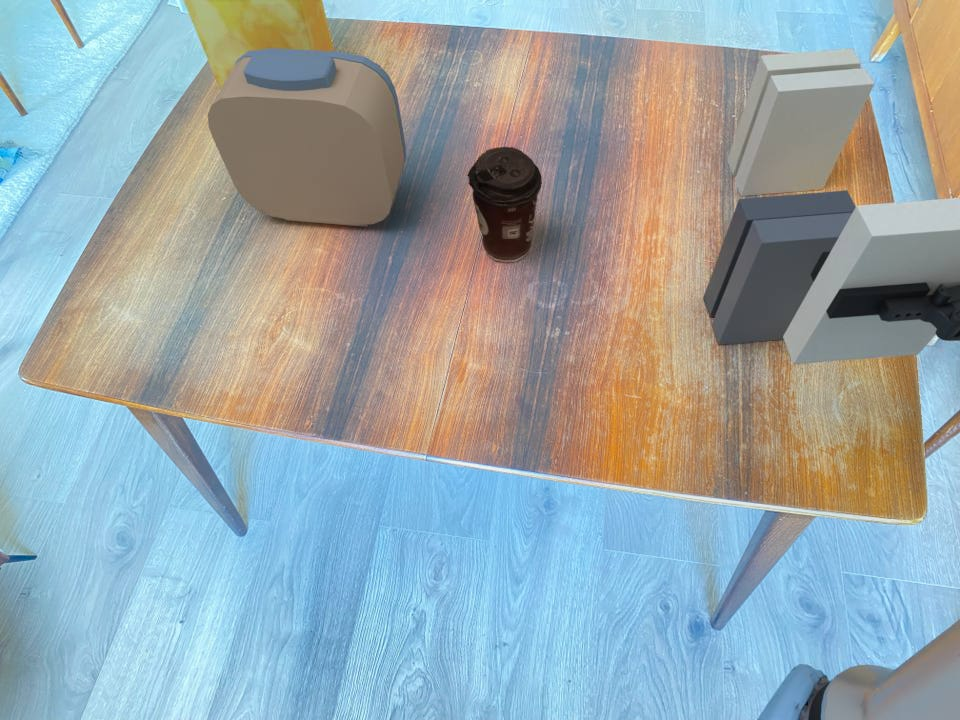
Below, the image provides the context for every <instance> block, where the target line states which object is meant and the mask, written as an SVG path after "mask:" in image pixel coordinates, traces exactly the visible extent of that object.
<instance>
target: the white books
mask: <svg viewBox="0 0 960 720" xmlns="http://www.w3.org/2000/svg"><path fill="white" fill-rule="evenodd" d="M861 65H862V61H861V59H860V58H859V56H858V55H857V53H856V52H855V50H854V48H853V47H852V48H851V47H849V48H838V49H827V50H826V49H825V50H813V51H802V52H790V53H789V52H788V53H777V54H776V53H775V54H765V55H760V58H759V61H758V64H757V67H756V69H755V73H754V76H753V79H752V81H751V85H750V89H749V91H748V95H747V97H746V101H745V104H744V107H743V109H742V113H741V117H740V120H739V123H738V126H737V129H736V132H735V136H734V138H733V141H732V144H731V147H730V151H729V154H728V157H727V160H726V162H727V165H728V167H729V170H730V173H731V175H732V176H735V179H734V182H735V186H736V189H737V190H738V193H739V195H740V197H747V196H760V195H772V194H773V195H774V194H786V193H798V192H808V191H809V192H810V191H823V189H824V188H825V186H826V184H827V182H828V180H829V178H830V175H831V174H832V171H833V170H834V167H835V165H836V163H837V161H838V159H839V158H840V156H841V153H842V151H843V149H844V147H845V145H846V143H847V141H848V139H849V137H850V136H851V133H852V132H853V128H854V127H855V124H856V122H857V121H858V118H859V117H860V114H861V113H862V111H863V109H864V106H865V104H866V102H867V100H868V99H869V97H870V94H871V92H872V91H873V88H874V86H875V82H874V81H873V79H872V76H871V75H870V74H869V72H868V70H867V69H866V67H862V68H861Z"/></svg>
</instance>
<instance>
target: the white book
mask: <svg viewBox="0 0 960 720" xmlns="http://www.w3.org/2000/svg"><path fill="white" fill-rule="evenodd" d="M855 206H856V208H855V209H854V211H853V213H852V215H851V216H850V218H849V220H848V222H847V224H846V225H845V227H844V229H843V231H842V232H841V234H840V236H839V238H838V240H837V241H836V243H835V245H834V247H833V249H832V250H831V252H830V254H829V256H828V257H827V259H826V261H825V263H824V265H823V266H822V268H821V270H820V272H819V273H818V275H817V277H816V279H815V281H814V282H813V284H812V286H811V288H810V289H809V291H808V293H807V295H806V297H805V298H804V300H803V302H802V304H801V306H800V307H799V309H798V311H797V313H796V314H795V316H794V318H793V320H792V322H791V323H790V325H789V327H788V329H787V330H786V332H785V334H784V336H783V338H784V340H783V341H784V343H785V346H786V349H787V351H788V354H789V357H790V359H791V362H792V364H793V365H803V364H815V363H826V362H840V361H852V360H854V361H855V360H866V359H879V358H892V357H893V358H894V357H904V356H917V355H918V356H919V354H920V353H921V352H922V351H923V350H924V349H925V348H926V346H927V345H929V343H930V342H931V341H932V340H933V338H934V337H935V336H937V335H936V330H937V329H936V328H935V327H934V326H933V325H932V324H931V323H930V322H924V321H922V320H920V319H919V320H906V321H893V322H887V321H882V320H881V319H880V317H879V315H870V316H857V317H844V318H832V319H829V316H828V314H827V312H826V310H827V309H828V307H829V306H830V304H831V302H832V301H833V299H834V297H835V296H836V294H837V293H838V291H839V289H847V288H860V287H873V286H886V285H899V284H912V283H925V282H926V283H927V285H928V286H929V288H930V291H929V293H928V294H927V295H932V294H933V293H934V291H935V290H936V289H937V288H938V287H939V285H941V284H943V286H942V287H941V288H940V290H941V289H942V288H943V287H945V288H950V287H955V286H960V197H950V198H949V197H948V198H939V199H938V198H937V199H935V198H934V199H925V200H912V201H899V202H884V203H873V204H871V203H870V204H859V205H858V204H857V205H855Z"/></svg>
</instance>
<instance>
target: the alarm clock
mask: <svg viewBox="0 0 960 720" xmlns="http://www.w3.org/2000/svg"><path fill="white" fill-rule="evenodd" d="M207 123H208V129H209V131H210V135H211V137H212V139H213V142H214V144H215V146H216V149H217V150H218V151H217V152H218V153H219V155H220V158H221V159H222V162H223V163H224V166H225V168H226V171H227V172H228V174H229V177H230V180H231V183H232V184H233V185H234V187H235V189H236V191H237V193H239V195H240V196H241V197H242V198H243V200H244V201H245V202H246V203H247V204H248V205H250V206H251V207H252V208H253V209H254V210H257V211H258V212H260V213H262V214H265V215H267V216H269V217H274V218H278V219H283V220H285V221H287V222H289V221H290V222H300V223H313V224H326V225H338V226H339V225H340V226H350V227H351V226H352V227H355V226H356V227H365V228H368V226H369V225H376V224H377V223H379V222H382V221H384V220H385V219H386V218H387V217H388V216H389V214H390V212H391V208H392V206H393V203H394V199H395V196H396V193H397V190H398V186H399V183H400V180H401V177H402V173H403V171H404V168H405V163H406V159H407V146H406V140H405V133H404V128H403V122H402V115H401V110H400V104H399V98H398V95H397V91H396V87H395V85H394V82H393V81H392V79H391V78H390V76H389V73H387V72H386V70H384V68H383V67H382V66H380V64H378V63H377V62H375V61H373V60H372V59H370V58H368V57H367V56H365V55H359V54H354V53H349V52H344V51H339V50H338V51H337V50H334V51H317V50H296V49H275V48H270V49H261V50H252V51H248V52H246V53H245V54H244V55H242V56H241V57H240V58H239V59H238V60H237V61H236V63H235V65H234V67H233V68H232V70H231V72H230V74H229V75H228V77H227V79H226V81H225V82H224V84H223V86H222V88H221V89H220V88H219V92H218V93H217V95H216V96H215V98H214V100H213V102H212V104H211V105H210V108H209V110H208V112H207Z"/></svg>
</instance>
